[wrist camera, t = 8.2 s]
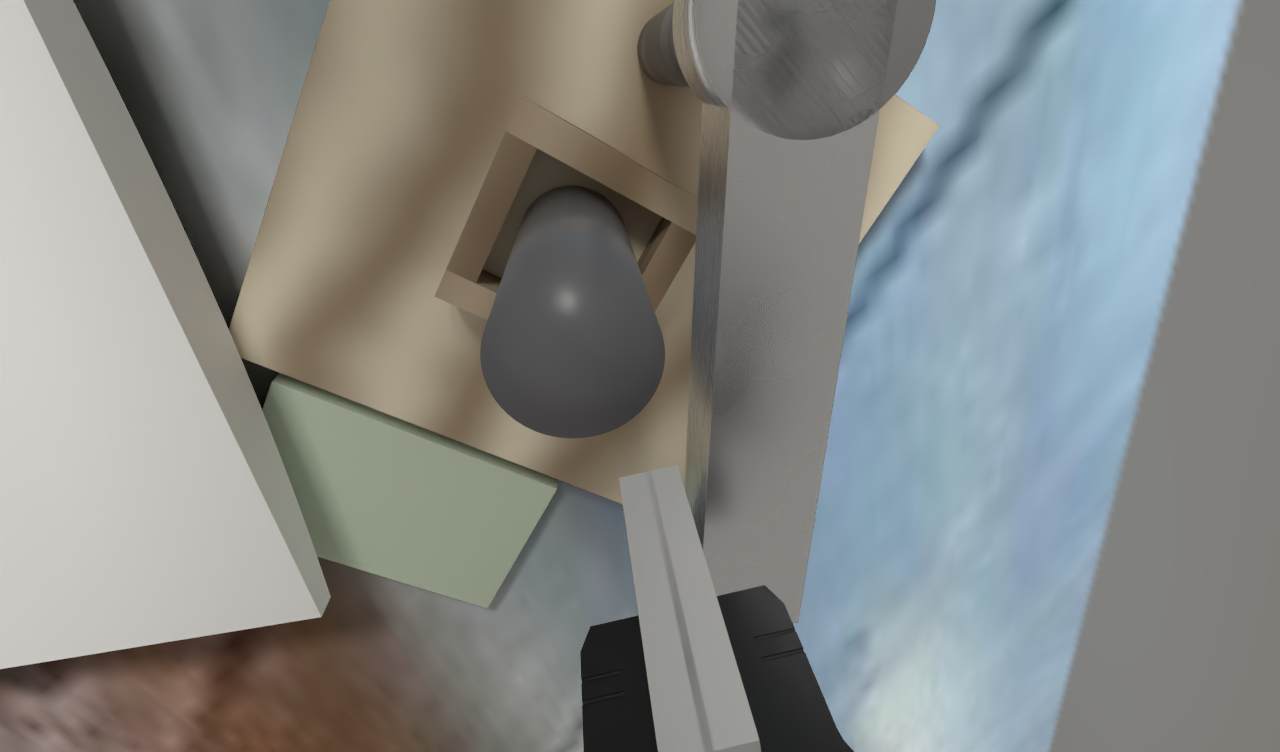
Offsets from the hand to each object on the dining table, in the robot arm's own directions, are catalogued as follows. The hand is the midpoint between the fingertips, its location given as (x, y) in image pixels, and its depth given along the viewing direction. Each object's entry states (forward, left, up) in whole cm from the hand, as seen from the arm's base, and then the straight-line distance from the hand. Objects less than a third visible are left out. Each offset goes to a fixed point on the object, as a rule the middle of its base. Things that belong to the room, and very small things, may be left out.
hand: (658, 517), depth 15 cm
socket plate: (-3, +2, -16) cm, 16 cm away
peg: (-3, +2, -14) cm, 14 cm away
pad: (-5, -14, -16) cm, 22 cm away
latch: (-1, +5, -1) cm, 5 cm away
